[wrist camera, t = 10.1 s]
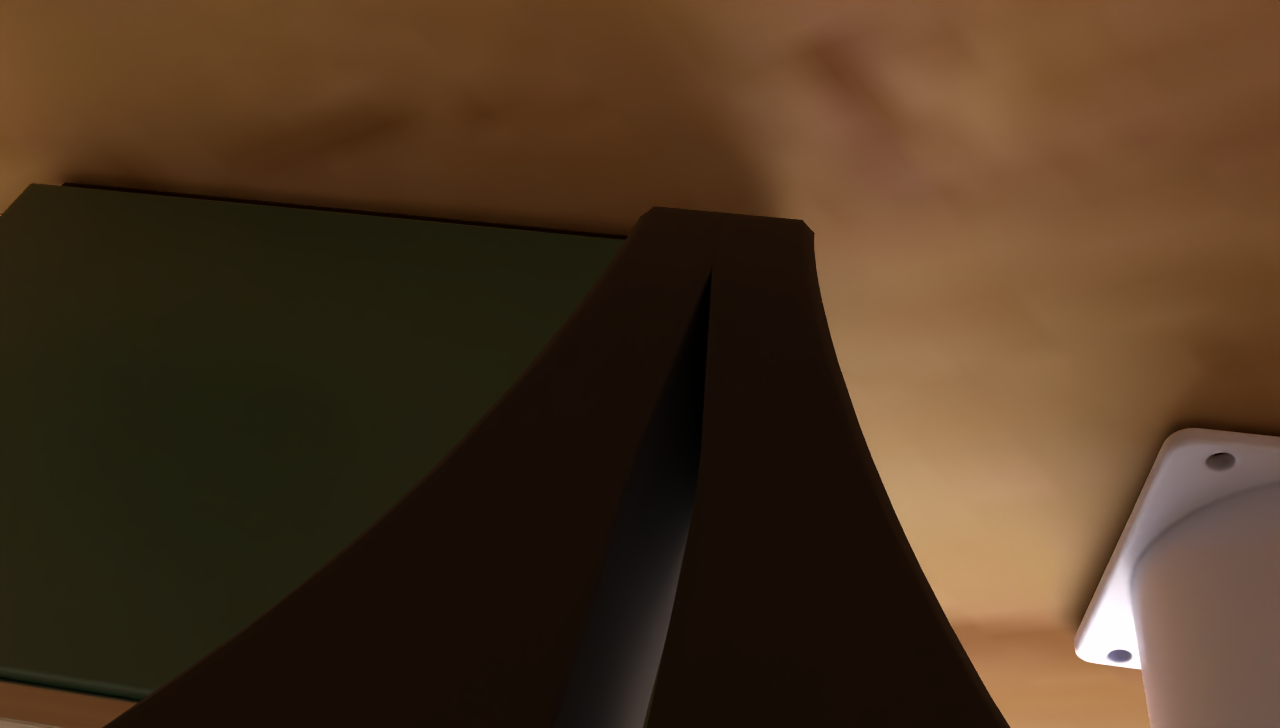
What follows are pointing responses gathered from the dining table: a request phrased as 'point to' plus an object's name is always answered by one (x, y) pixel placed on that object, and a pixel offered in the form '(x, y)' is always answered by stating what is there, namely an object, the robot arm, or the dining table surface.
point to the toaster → (228, 410)
